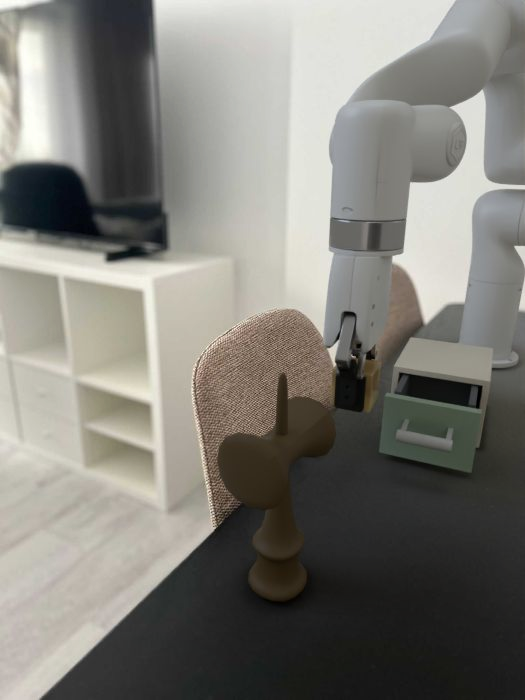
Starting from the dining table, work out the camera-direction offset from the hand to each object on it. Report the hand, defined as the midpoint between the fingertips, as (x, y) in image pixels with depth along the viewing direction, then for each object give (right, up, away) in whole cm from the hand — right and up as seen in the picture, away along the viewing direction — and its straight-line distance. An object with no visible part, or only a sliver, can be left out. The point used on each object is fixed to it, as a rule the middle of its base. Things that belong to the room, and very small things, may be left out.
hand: (354, 398), depth 58 cm
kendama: (-9, -15, -13) cm, 22 cm away
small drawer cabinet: (+16, -5, +18) cm, 24 cm away
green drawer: (+11, -7, +8) cm, 15 cm away
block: (0, 0, 0) cm, 0 cm away
